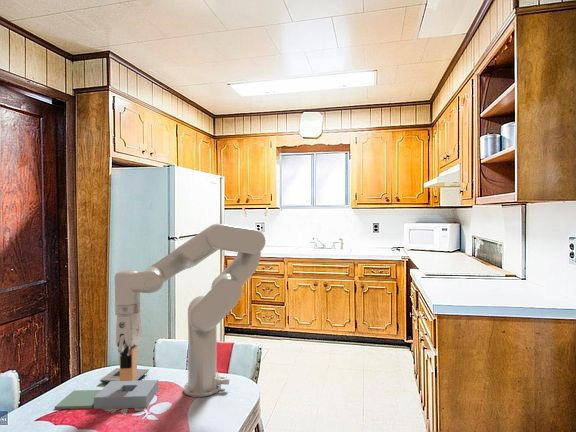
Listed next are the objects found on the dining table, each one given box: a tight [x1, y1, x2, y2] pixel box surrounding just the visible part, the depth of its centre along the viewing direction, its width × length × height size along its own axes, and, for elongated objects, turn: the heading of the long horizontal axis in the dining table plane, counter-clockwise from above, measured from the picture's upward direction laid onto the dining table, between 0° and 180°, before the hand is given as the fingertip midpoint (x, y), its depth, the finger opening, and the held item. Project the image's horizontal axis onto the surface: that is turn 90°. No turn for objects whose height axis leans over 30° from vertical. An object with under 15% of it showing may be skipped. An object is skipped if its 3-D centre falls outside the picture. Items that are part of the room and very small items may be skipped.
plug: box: [119, 344, 138, 381], centre depth 121 cm, size 4×4×11 cm
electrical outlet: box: [99, 367, 150, 383], centre depth 137 cm, size 13×10×2 cm
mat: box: [54, 389, 102, 410], centre depth 120 cm, size 11×11×1 cm
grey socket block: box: [93, 379, 159, 410], centre depth 121 cm, size 16×12×4 cm
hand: (128, 364), depth 121 cm, fingers closed on plug, 4 cm apart
